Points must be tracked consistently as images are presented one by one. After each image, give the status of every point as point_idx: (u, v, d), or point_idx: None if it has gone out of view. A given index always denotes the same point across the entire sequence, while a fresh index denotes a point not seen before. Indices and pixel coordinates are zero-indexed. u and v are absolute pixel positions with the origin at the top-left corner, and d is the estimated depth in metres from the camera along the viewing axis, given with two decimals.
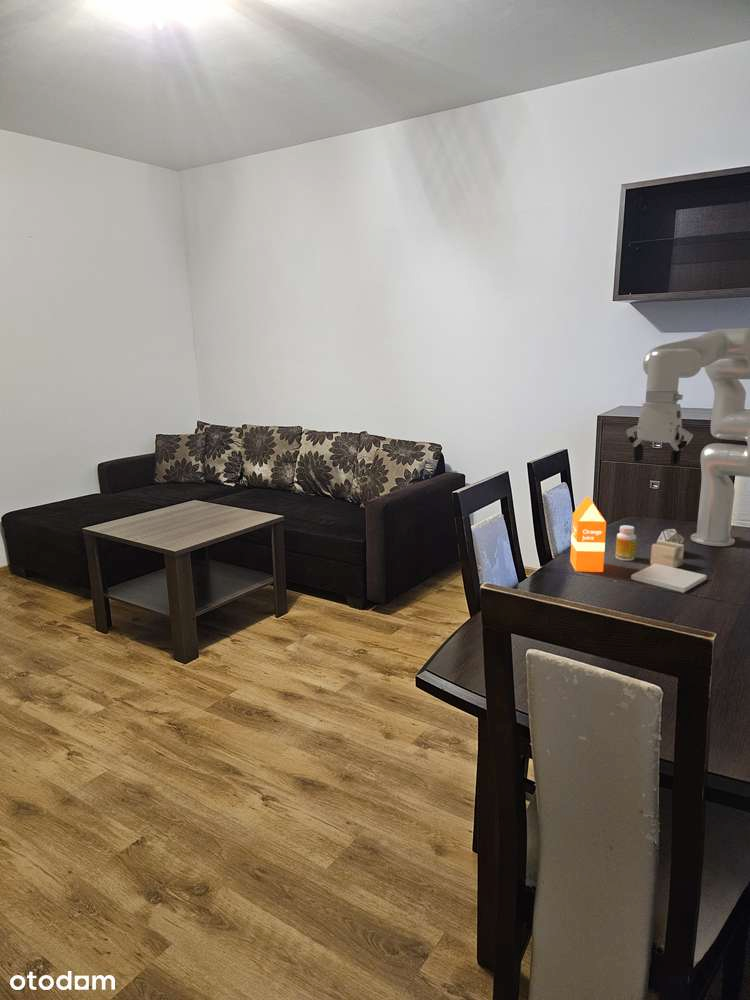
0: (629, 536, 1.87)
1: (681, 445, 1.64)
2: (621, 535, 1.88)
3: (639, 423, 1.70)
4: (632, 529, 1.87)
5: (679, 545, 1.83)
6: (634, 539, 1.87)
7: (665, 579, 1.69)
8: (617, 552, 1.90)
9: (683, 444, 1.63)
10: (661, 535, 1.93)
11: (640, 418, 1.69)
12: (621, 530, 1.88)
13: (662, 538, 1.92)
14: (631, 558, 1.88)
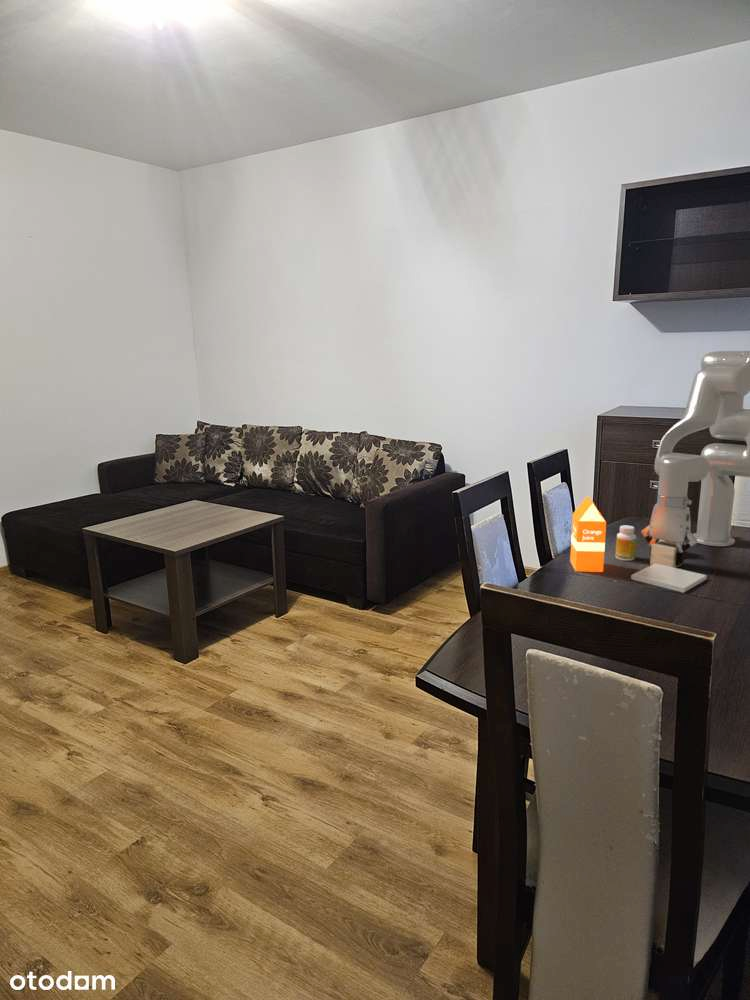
0: (629, 536, 1.87)
1: (685, 548, 1.79)
2: (621, 535, 1.88)
3: (651, 522, 1.84)
4: (632, 529, 1.87)
5: None
6: (634, 539, 1.87)
7: (665, 579, 1.69)
8: (617, 552, 1.90)
9: (687, 547, 1.78)
10: None
11: (652, 518, 1.83)
12: (621, 530, 1.88)
13: None
14: (631, 558, 1.88)
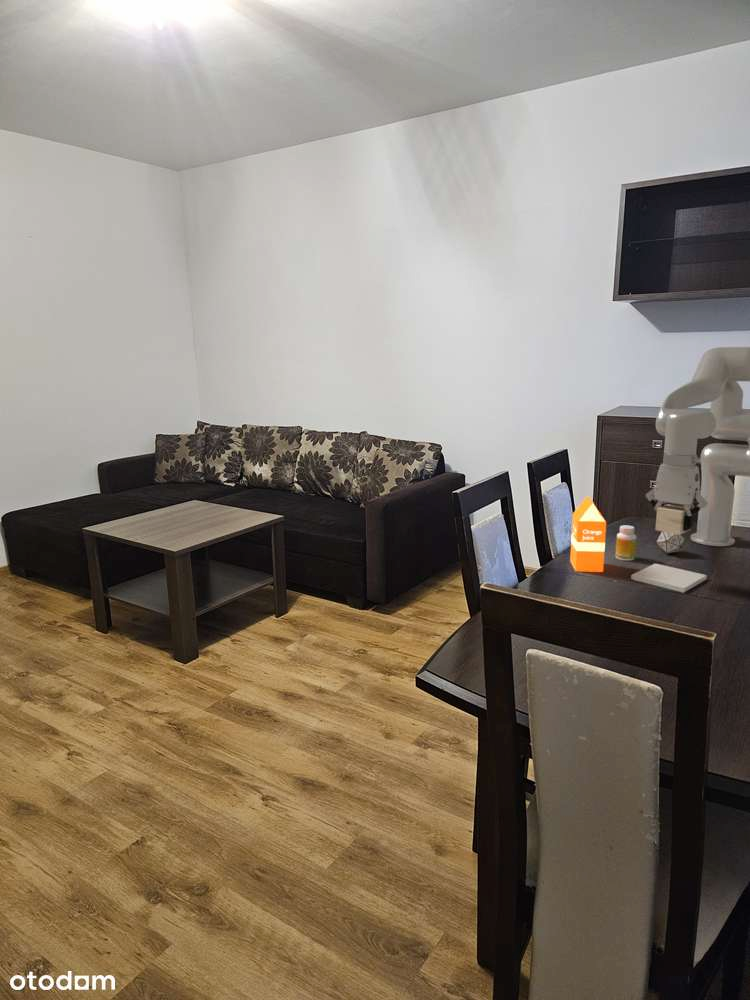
0: (629, 536, 1.87)
1: (694, 511, 1.64)
2: (621, 535, 1.88)
3: (656, 484, 1.69)
4: (632, 529, 1.87)
5: None
6: (634, 539, 1.87)
7: (665, 579, 1.69)
8: (617, 552, 1.90)
9: (696, 510, 1.63)
10: (661, 535, 1.93)
11: (657, 479, 1.68)
12: (621, 530, 1.88)
13: (662, 538, 1.92)
14: (631, 558, 1.88)
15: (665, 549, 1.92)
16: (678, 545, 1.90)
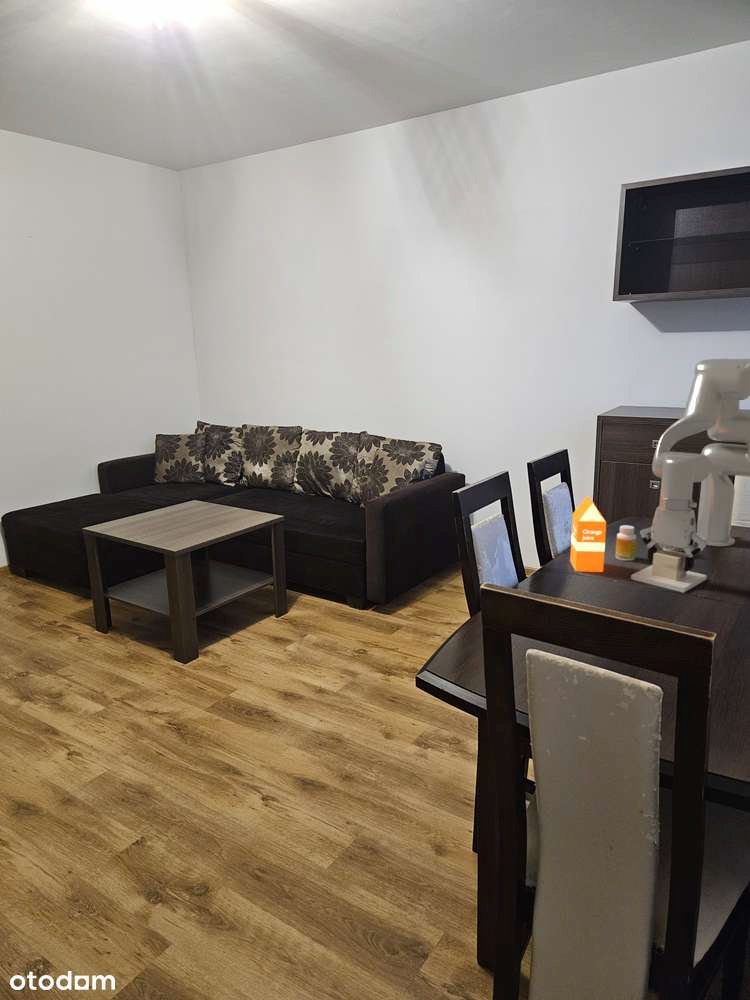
0: (629, 536, 1.87)
1: (695, 552, 1.65)
2: (621, 535, 1.88)
3: (653, 526, 1.71)
4: (632, 529, 1.87)
5: (683, 554, 1.70)
6: (634, 539, 1.87)
7: (665, 579, 1.69)
8: (617, 552, 1.90)
9: (697, 551, 1.65)
10: None
11: (654, 522, 1.71)
12: (621, 530, 1.88)
13: None
14: (631, 558, 1.88)
15: None
16: None
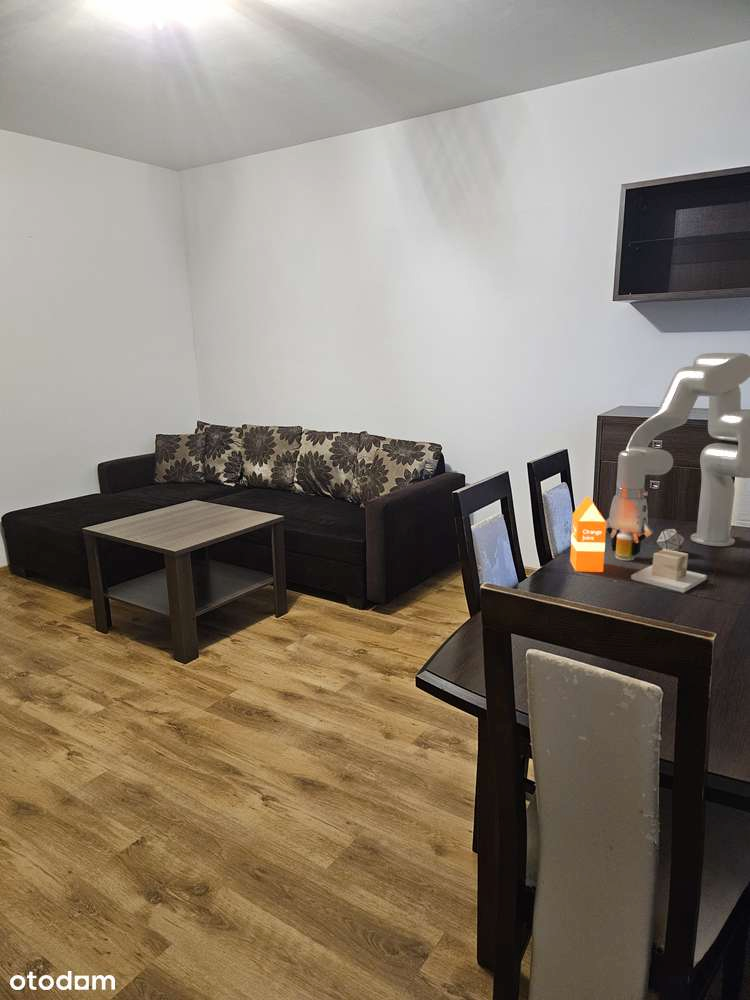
0: (629, 536, 1.87)
1: (640, 538, 1.85)
2: (621, 535, 1.88)
3: (610, 513, 1.90)
4: None
5: (683, 554, 1.70)
6: None
7: (665, 579, 1.69)
8: (617, 552, 1.90)
9: (642, 537, 1.85)
10: (661, 535, 1.93)
11: (611, 509, 1.89)
12: (621, 530, 1.88)
13: (662, 538, 1.92)
14: (631, 558, 1.88)
15: None
16: (678, 545, 1.90)
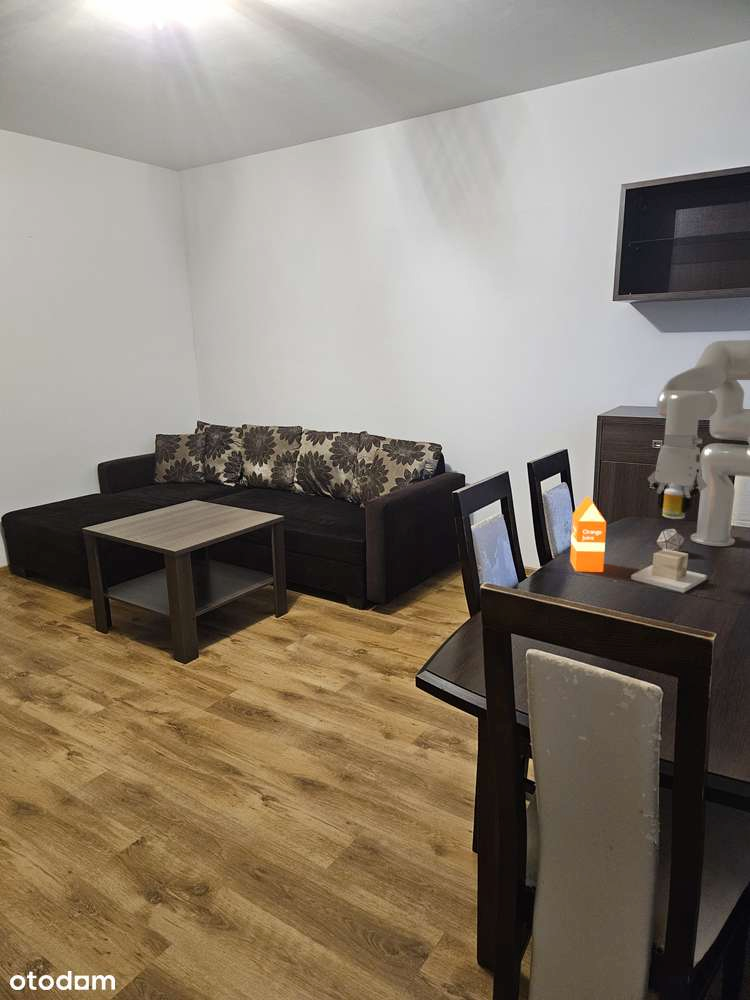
0: (679, 490, 1.65)
1: (693, 492, 1.63)
2: (670, 490, 1.66)
3: (657, 466, 1.68)
4: None
5: (683, 554, 1.70)
6: None
7: (665, 579, 1.69)
8: (665, 509, 1.68)
9: (695, 491, 1.63)
10: (661, 535, 1.93)
11: (658, 461, 1.67)
12: (670, 484, 1.66)
13: (662, 538, 1.92)
14: (681, 516, 1.66)
15: None
16: (678, 545, 1.90)
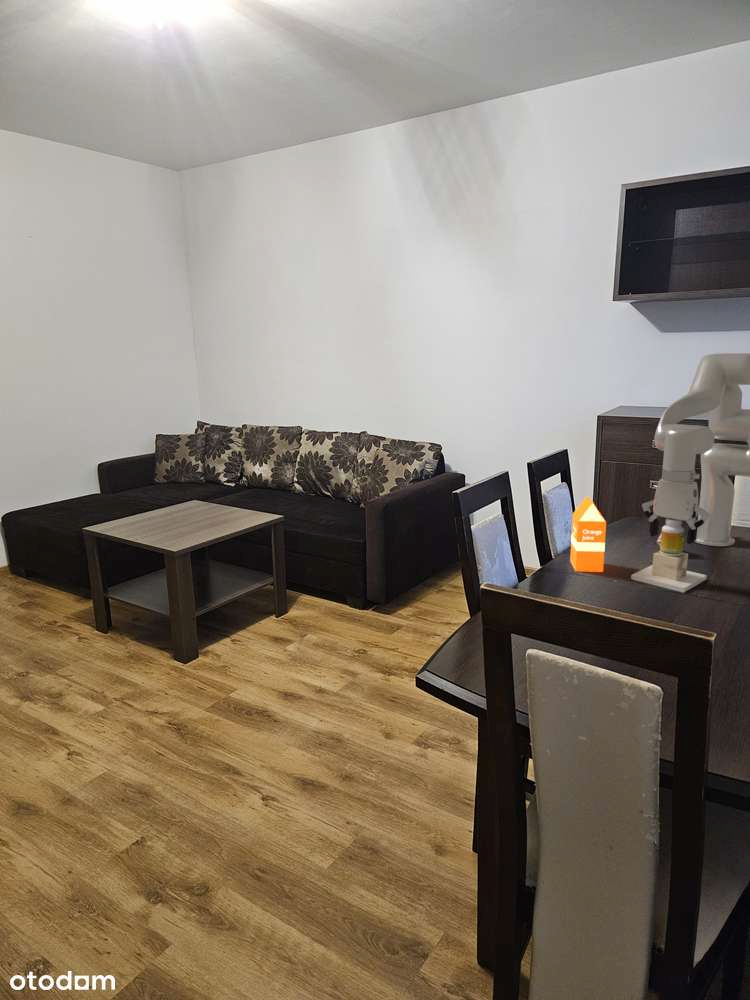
0: (676, 529, 1.67)
1: (698, 524, 1.63)
2: (667, 528, 1.68)
3: (655, 499, 1.69)
4: (680, 521, 1.67)
5: (683, 554, 1.70)
6: (682, 532, 1.67)
7: (665, 579, 1.69)
8: (662, 547, 1.70)
9: (700, 523, 1.63)
10: None
11: (656, 494, 1.69)
12: (667, 523, 1.68)
13: None
14: (678, 553, 1.68)
15: None
16: None
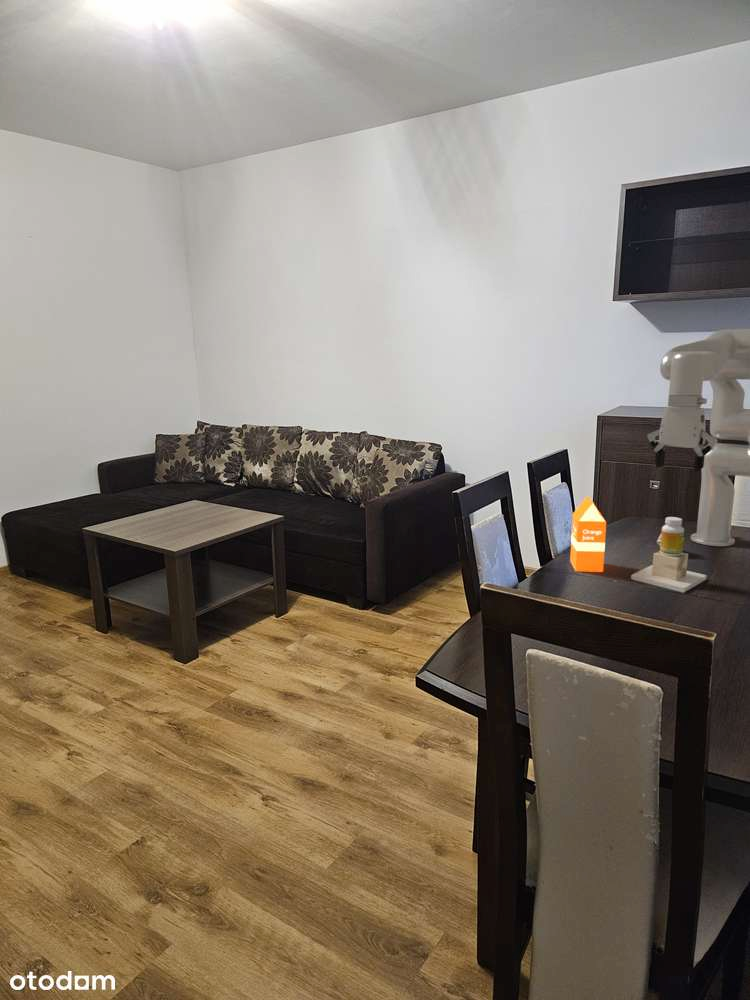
0: (676, 529, 1.67)
1: (705, 450, 1.59)
2: (667, 528, 1.68)
3: (661, 428, 1.65)
4: (680, 521, 1.67)
5: (683, 554, 1.70)
6: (682, 532, 1.67)
7: (665, 579, 1.69)
8: (662, 547, 1.70)
9: (707, 449, 1.59)
10: None
11: (662, 422, 1.65)
12: (667, 523, 1.68)
13: None
14: (678, 553, 1.68)
15: None
16: None
